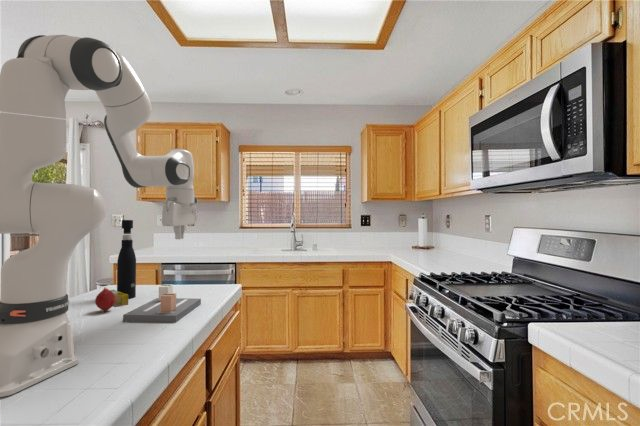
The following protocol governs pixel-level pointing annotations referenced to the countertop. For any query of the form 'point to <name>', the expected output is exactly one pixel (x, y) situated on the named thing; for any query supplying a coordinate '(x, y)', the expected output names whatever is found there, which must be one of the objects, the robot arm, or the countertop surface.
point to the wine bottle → (127, 263)
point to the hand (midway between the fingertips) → (179, 239)
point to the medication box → (120, 298)
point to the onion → (105, 299)
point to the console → (154, 314)
